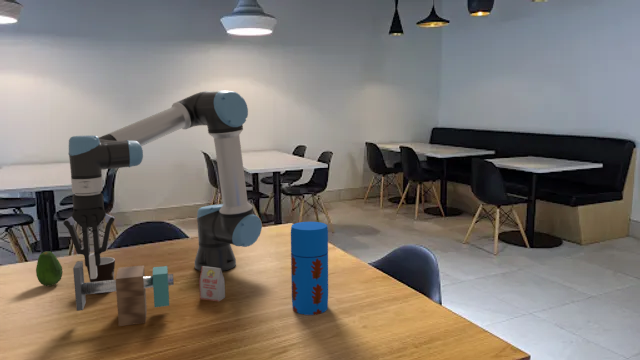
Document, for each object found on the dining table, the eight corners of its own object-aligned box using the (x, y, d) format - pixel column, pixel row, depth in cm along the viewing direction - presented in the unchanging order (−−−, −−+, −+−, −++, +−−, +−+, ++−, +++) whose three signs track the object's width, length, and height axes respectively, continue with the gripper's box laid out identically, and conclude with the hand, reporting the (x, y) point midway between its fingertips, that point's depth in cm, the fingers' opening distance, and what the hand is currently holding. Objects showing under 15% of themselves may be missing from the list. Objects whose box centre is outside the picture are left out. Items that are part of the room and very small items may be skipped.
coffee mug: (106, 296, 161) (104, 265, 160) (82, 294, 163) (80, 264, 162) (127, 283, 173) (125, 255, 171) (104, 282, 174) (102, 253, 173)
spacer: (169, 296, 151) (167, 266, 149) (169, 305, 144) (167, 273, 143) (154, 298, 150) (153, 267, 148) (154, 307, 143) (152, 274, 142)
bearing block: (146, 309, 151) (144, 265, 149) (145, 322, 141) (142, 276, 139) (121, 312, 149) (118, 267, 147) (118, 326, 139) (115, 278, 137)
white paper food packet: (206, 294, 162) (205, 264, 161) (225, 297, 160) (223, 266, 158) (200, 298, 159) (198, 268, 157) (218, 301, 157) (217, 270, 155)
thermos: (301, 317, 144) (300, 232, 140) (286, 304, 153) (284, 224, 150) (334, 310, 149) (334, 227, 145) (318, 298, 158) (317, 220, 155)
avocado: (32, 287, 170) (28, 252, 168) (54, 280, 176) (51, 246, 175) (47, 291, 166) (44, 256, 164) (69, 283, 173) (66, 249, 171)
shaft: (174, 292, 151) (172, 253, 149) (174, 299, 145) (172, 259, 143) (80, 302, 143) (76, 261, 141) (76, 310, 138) (73, 268, 136)
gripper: (58, 196, 132) (65, 284, 135) (112, 194, 135) (118, 279, 139) (63, 192, 139) (70, 275, 142) (114, 189, 142) (120, 270, 146)
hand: (94, 277), depth 140 cm, fingers closed
